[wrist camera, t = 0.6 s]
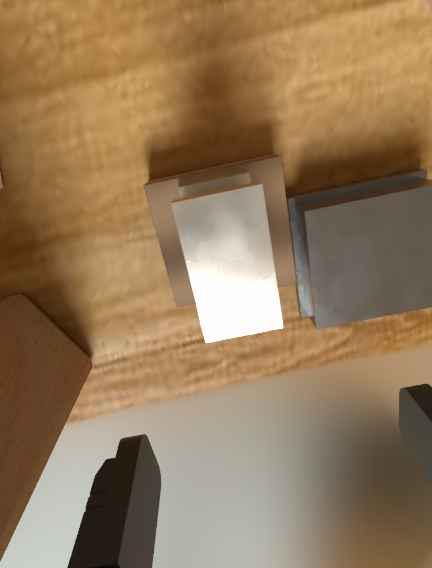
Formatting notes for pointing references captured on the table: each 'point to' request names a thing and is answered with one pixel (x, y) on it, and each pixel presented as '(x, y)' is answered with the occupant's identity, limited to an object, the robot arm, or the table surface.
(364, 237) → the stand
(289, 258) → the stand
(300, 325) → the table surface
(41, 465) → the wooden block
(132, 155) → the table surface
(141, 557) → the robot arm
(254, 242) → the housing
